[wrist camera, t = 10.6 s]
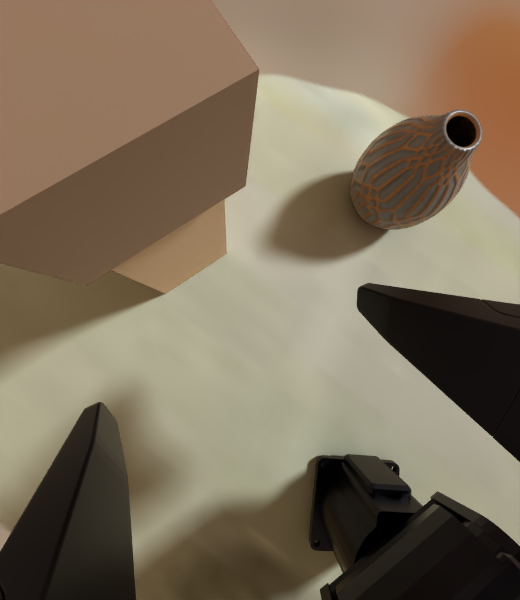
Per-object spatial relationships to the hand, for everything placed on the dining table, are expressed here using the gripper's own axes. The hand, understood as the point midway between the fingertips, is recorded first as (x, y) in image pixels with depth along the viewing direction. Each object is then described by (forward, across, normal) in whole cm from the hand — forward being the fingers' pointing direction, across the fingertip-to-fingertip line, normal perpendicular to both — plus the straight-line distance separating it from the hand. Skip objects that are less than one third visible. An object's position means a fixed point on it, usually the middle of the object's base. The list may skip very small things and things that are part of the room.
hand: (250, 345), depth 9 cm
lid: (+6, +2, -6) cm, 8 cm away
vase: (+12, -17, +2) cm, 21 cm away
